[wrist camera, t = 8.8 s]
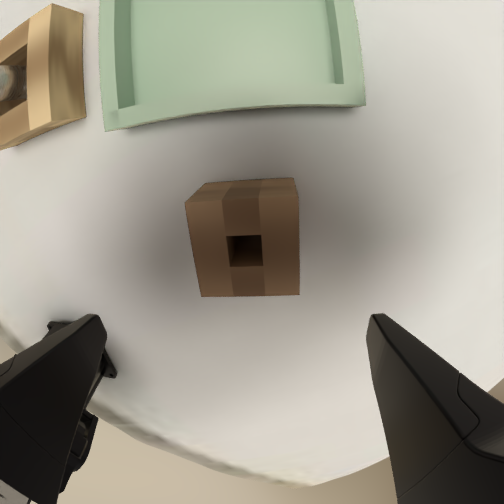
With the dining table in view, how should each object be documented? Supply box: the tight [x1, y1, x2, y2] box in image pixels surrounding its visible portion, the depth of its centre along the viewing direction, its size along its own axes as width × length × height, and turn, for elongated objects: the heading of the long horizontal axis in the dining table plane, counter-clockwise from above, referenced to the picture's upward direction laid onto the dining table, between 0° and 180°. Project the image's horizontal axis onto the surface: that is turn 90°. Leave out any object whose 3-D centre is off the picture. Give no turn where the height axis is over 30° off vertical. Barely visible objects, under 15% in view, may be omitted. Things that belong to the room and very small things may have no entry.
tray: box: [99, 0, 366, 132], centre depth 10 cm, size 13×13×2 cm
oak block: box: [0, 3, 86, 150], centre depth 12 cm, size 8×8×4 cm
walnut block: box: [185, 178, 300, 297], centre depth 15 cm, size 5×5×4 cm
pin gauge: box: [0, 65, 27, 102], centre depth 10 cm, size 2×2×8 cm
